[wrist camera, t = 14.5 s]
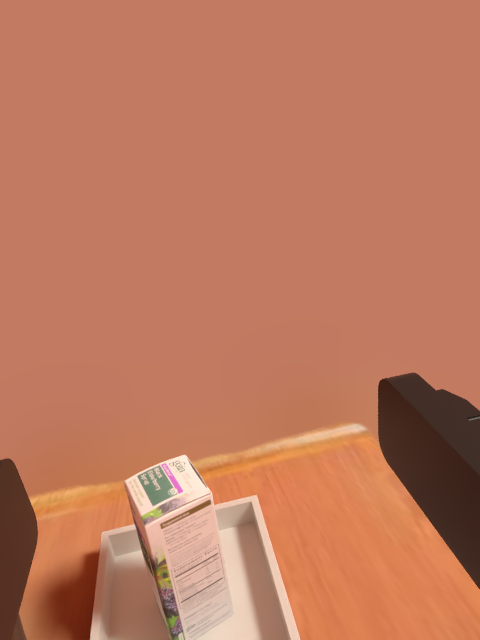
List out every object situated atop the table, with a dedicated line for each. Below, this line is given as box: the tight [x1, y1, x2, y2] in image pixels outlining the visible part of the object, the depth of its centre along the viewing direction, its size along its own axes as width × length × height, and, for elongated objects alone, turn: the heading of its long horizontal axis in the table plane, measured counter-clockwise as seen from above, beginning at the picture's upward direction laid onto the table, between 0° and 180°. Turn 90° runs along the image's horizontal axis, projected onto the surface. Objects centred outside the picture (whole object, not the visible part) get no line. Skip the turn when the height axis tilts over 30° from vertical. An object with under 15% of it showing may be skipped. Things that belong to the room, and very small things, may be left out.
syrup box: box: [124, 455, 234, 640], centre depth 39 cm, size 6×6×14 cm
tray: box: [90, 495, 300, 640], centre depth 42 cm, size 16×16×4 cm
